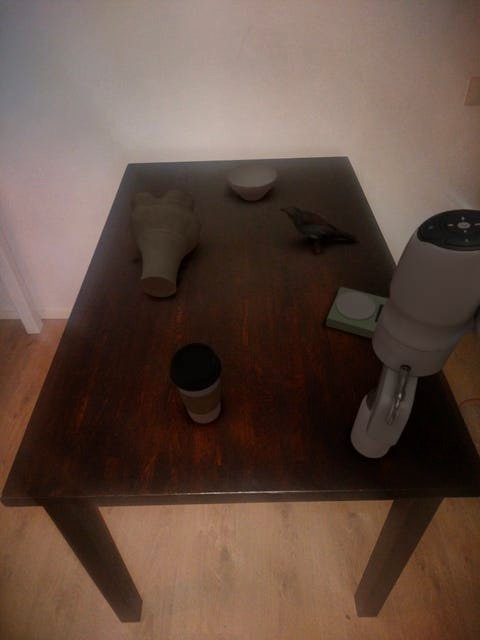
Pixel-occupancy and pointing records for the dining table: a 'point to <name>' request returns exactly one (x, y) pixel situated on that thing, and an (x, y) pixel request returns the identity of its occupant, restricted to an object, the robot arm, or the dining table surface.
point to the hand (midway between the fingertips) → (384, 399)
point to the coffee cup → (198, 380)
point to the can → (359, 435)
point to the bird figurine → (315, 227)
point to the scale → (355, 312)
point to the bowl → (252, 180)
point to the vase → (163, 237)
